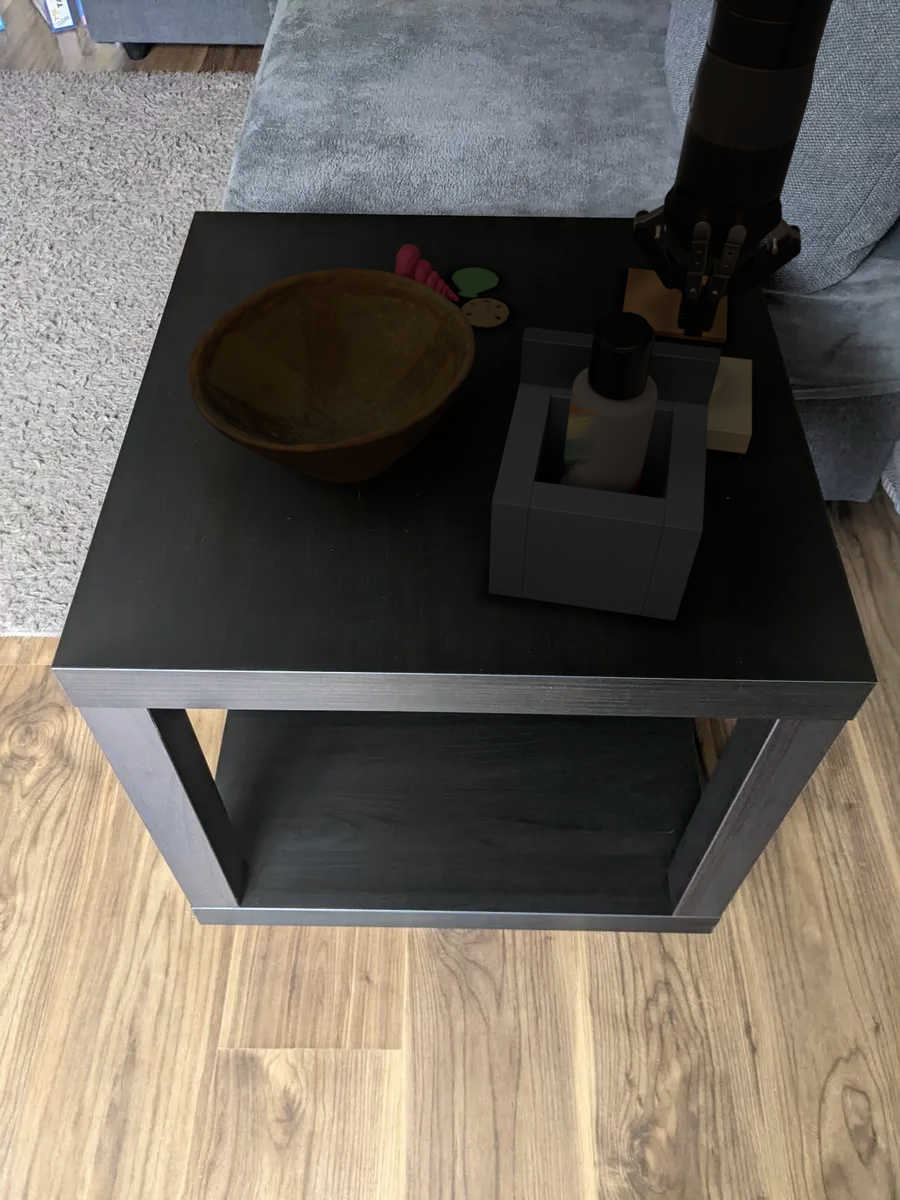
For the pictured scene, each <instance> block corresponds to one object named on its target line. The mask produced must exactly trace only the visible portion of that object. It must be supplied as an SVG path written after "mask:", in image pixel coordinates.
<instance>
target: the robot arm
mask: <svg viewBox="0 0 900 1200" xmlns="http://www.w3.org/2000/svg"><path fill="white" fill-rule="evenodd" d="M833 2H834V0H713V5H712V9H711V15H710V20H709V25H708V30H707V36H706V41H705V45H704V48H703V53H702V54H701V58H700V61H699V64H698V66H697V67H698V68H697V70H696V73H695V78H694V82H693V87H692V90H691V92H690V95H689V100H688V112H687V118H686V124H685V127H684V128H685V129H684V133H683V138H682V144H681V148H680V154H679V158H678V164H677V169H676V174H675V179H674V180H675V181H674V182H673V184H672V186H671V188H670V189H669V190H668V191H667V192H666V195H665V197H664V199H663V200H664V201H663V204H662V205H660V206H658V207H656V208H654V209H652V210H651V211H648V210H647V209H641V210H638V211H637V212H636V213H635V215H634V222H633V223H634V224H633V228H632V238H633V240H634V241H635V243H636V244H637V246H638V248H639V249H640V251H641V252H642V254H643V255H644V257H645V258H646V260H647V262H648V263H649V265H650V266H651V268H652V270H654V271H655V273H656V274H657V276H658V277H659V279H660V280H661V282H662V284H663V285H664V287H665V288H667V289H678V290H679V291H681V293H682V297H681V302H680V306H679V311H678V320H677V324H678V329H684V332H683V336H688V337H698V338H701V337H702V333H703V331H704V332H709V331H710V330H711V328H712V327H713V323H714V319H715V315H716V312H717V308H718V304H719V301H720V299H721V298H722V297H724V296H726V295H728V296H731V295H733V296H734V297H735V298H742V297H744V296H745V295H747V294H748V293H750V292H751V291H752V290H753V289H755V288H756V287H758V286H759V285H761V284H762V283H763V282H764V281H766V280H767V279H768V278H769V277H771V276H772V275H774V274H776V272H778V271H779V270H780V269H782V268H783V267H784V266H786V265H787V264H789V263H790V262H791V261H792V260H794V259H795V258H796V257H798V256H799V255H800V254H801V252H802V235H801V228H800V227H799V226H798V225H796V224H789V223H788V222H787V221H786V220H785V219H784V218H783V205H782V201H781V196H782V193H783V189H784V185H785V182H786V179H787V176H788V172H789V168H790V166H791V162H792V158H793V155H794V152H795V149H796V144H797V141H798V139H799V134H800V131H801V127H802V124H803V121H804V117H805V114H806V111H807V107H808V103H809V100H810V96H811V91H812V88H813V82H814V76H815V69H816V63H817V59H818V58H817V57H818V54H819V51H820V47H821V44H822V40H823V36H824V33H825V30H826V26H827V23H828V19H829V15H830V12H831V8H832V5H833ZM666 223H668V225H669V227H670V229H671V230H672V232H673V234H674V236H675V238H676V239H677V241H678V243H679V245H680V247H681V248H682V250H684V252H685V253H687V254H688V257H687V265H686V266H685V265H682V264H681V261H680V260H679V258H678V257H677V255H676V253H675V252H674V250H673V248H672V246H671V245H670V243H669V242H668V240H667V239H666V235H667V225H666ZM763 239H765V243H764V244H763V245H762V246H760V247H759V248H758V249H757V250H755V251H754V252H753V253H752V254H750V255H749V256H747V258H745V259H743V261H741V262H740V263H739V264H738V265H736V262H737V259H738V258H740V257H743V256H744V255H746V254H747V253H748V252H749V251H751V250H752V249H753V248H754V247H755V246H756V245H758V244H759V243H760V242H762V241H763ZM707 258H712V262H711V265H710V268H709V270H708V272H707V273H708V274H707V276H708V277H707V280H706V284H703V285H702V280H703V275H705V269H706V263H707V262H706V261H707ZM735 265H736V266H735ZM692 335H693V336H692Z"/></svg>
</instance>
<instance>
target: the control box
mask: <svg viewBox="0 0 900 1200" xmlns="http://www.w3.org/2000/svg"><path fill="white" fill-rule="evenodd" d="M752 434H753V360H752V359H746V358H739V357H738V358H736V357H728V356H721V355H720V364H719V368H718V372H717V376H716V379H715V383H714V387H713V390H712V394H711V398H710V401H709V404H708V425H707V448H706V450H713V451H722V452H729V453H739V454H746V453H747V450H748V447H749V445H750V442H751V438H752Z"/></svg>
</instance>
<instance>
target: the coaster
mask: <svg viewBox="0 0 900 1200" xmlns="http://www.w3.org/2000/svg"><path fill="white" fill-rule="evenodd" d="M707 277H708V275H705V274H703V280H702V285H703V284H706V280H707ZM728 296H729V295H726V296H724V297H722V298H721V299H720V301H719V304H718V308H717V312H716V315H715V319H714V323H713V327H712V328H711V330H710V331H709V332H704V331H703V333H702V337H701V338H698V337H688V336H683V332H684V329H678V324H677V320H678V311H679V306H680V302H681V297H682V293H681V291H679V290H678V289H667V288H665V287H664V285H663V284H662V282H661V280H660V279H659V277H658V276H657V274H656V273H655V271H654V270H653V269H645V268H644V269H643V268H635V267H628V271H627V279H626V285H625V293H624V300H623V307H622V312H633V313H636V314H639V315H641V316H642V317H644V318H645V319H646V320H647V321H648V323H649V325H651V326H652V327H653V328H654V330H655V336H659V337H665V338H676V339H685V340H695V341H704V342H711V343H722V344H725V343H726V341H727V335H728V334H727V333H728V330H727V329H728V299H729V298H728ZM692 336H693V335H692Z"/></svg>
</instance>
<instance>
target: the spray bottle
mask: <svg viewBox="0 0 900 1200" xmlns="http://www.w3.org/2000/svg"><path fill="white" fill-rule="evenodd" d="M655 339H656V335H655V330H654V328H653V327H652V326H651V325H649V323H648V321H647V320H646V319H645V318H644V317H642V316H641V315H639V314H636V313H633V312H623V311H618V312H615V313H612V314H607V315H604V316H601V317H600V318H599V319H598V320H597V321H596V323H595V324H594V329H593V342H592V348H591V355H590V362H589V367H588V368H586V369H584V370H583V371H582V372H581V373H579V375H578V376H577V377H576V379H575V381H574V384H573V389H572V395H571V402H570V410H569V419H568V427H567V435H566V444H565V452H564V460H563V469H562V477H561V485H566V486H573V487H581V488H588V489H596V490H603V491H611V492H618V493H626V494H633V495H637V492H638V488H639V483H640V478H641V474H642V469H643V464H644V460H645V455H646V450H647V446H648V441H649V436H650V432H651V427H652V422H653V418H654V413H655V408H656V403H657V387H656V384H655V382H654V381H653V379H652V378H651V377H650V376H649V375H648V373H649V368H650V362H651V357H652V351H653V346H654V341H655Z"/></svg>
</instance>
